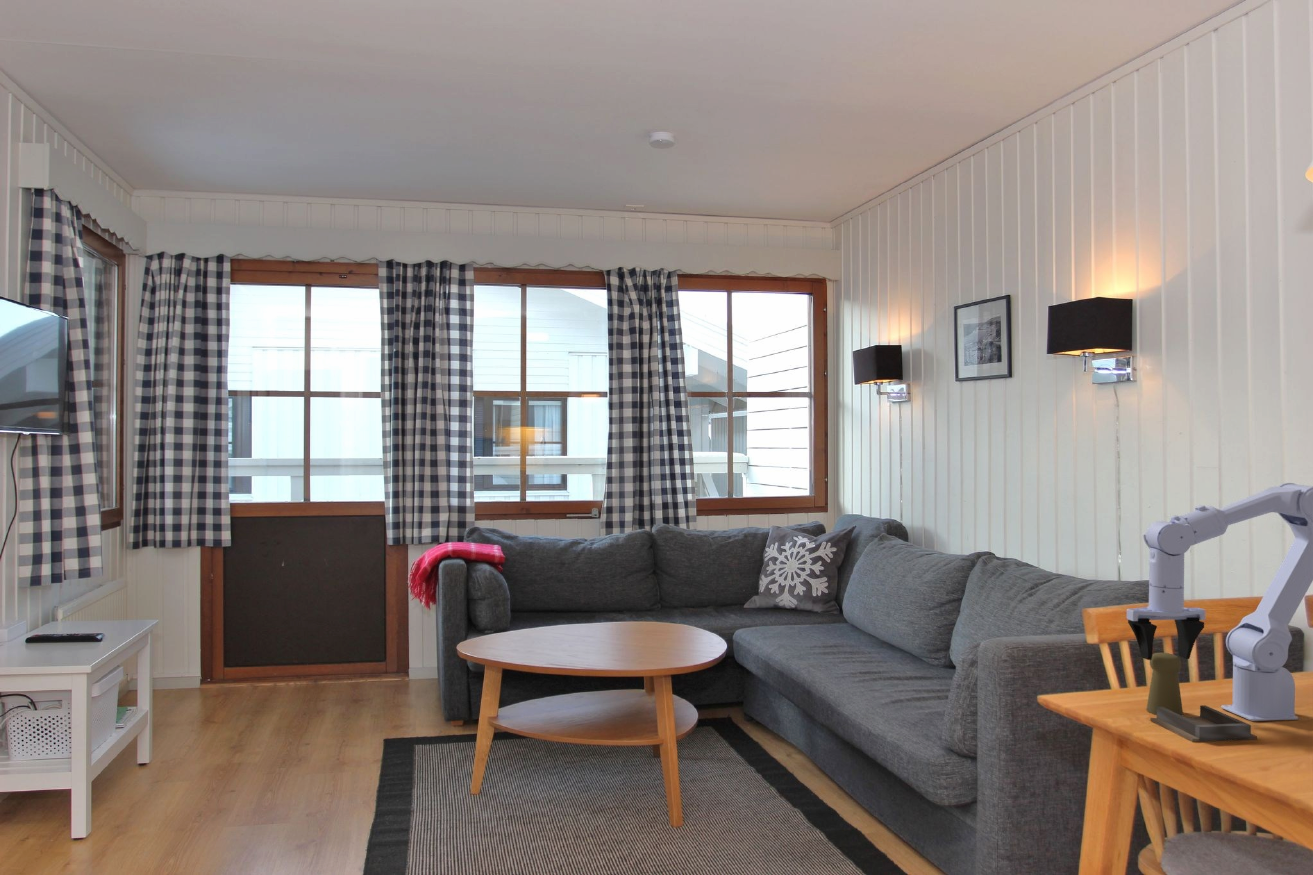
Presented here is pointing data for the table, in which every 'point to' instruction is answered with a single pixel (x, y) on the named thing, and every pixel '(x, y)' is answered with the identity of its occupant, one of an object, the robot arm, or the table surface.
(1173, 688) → the olive rounded tapered post
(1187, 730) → the shaker socket
